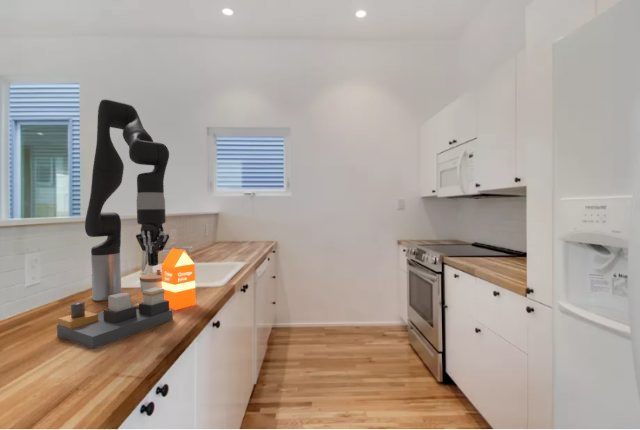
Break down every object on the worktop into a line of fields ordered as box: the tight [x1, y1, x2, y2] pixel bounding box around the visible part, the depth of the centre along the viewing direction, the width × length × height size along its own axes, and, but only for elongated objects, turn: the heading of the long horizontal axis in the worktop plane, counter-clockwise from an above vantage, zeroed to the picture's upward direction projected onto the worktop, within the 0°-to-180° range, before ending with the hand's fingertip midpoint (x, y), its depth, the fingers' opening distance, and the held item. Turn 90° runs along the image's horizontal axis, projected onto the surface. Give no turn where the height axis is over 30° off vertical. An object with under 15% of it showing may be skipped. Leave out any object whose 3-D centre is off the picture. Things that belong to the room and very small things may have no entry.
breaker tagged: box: [142, 287, 165, 305], centre depth 94 cm, size 4×4×4 cm
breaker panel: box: [56, 300, 173, 350], centre depth 90 cm, size 18×22×6 cm
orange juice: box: [161, 247, 197, 311], centre depth 110 cm, size 8×9×20 cm
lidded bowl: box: [139, 269, 162, 294], centre depth 119 cm, size 13×13×11 cm
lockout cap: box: [57, 301, 98, 329], centre depth 86 cm, size 7×7×5 cm
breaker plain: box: [107, 292, 132, 312], centre depth 89 cm, size 4×4×4 cm
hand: (153, 265), depth 94 cm, fingers closed
